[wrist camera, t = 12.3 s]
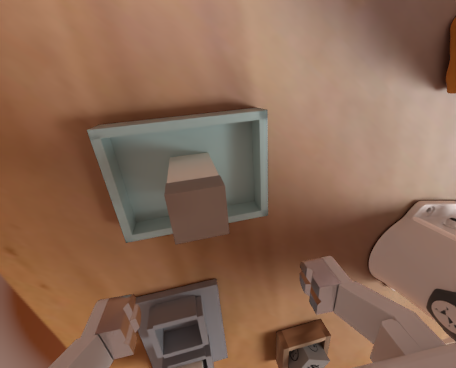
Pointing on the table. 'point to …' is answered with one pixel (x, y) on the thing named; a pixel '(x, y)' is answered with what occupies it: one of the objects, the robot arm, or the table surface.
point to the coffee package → (452, 60)
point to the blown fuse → (195, 198)
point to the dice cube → (308, 357)
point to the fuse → (194, 365)
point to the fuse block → (183, 326)
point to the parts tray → (180, 146)
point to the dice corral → (300, 340)
